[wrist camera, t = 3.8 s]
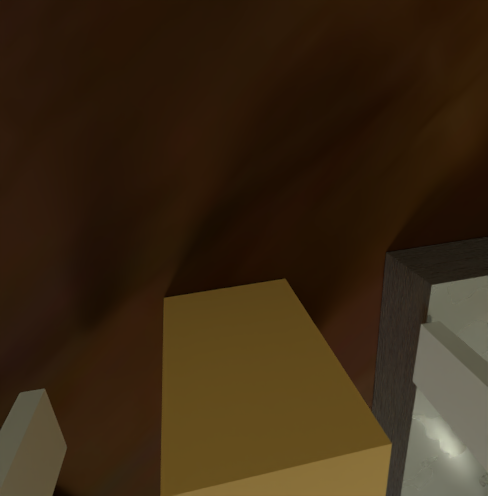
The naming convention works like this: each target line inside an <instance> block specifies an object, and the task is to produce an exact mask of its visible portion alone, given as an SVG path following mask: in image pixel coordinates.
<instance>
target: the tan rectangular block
mask: <svg viewBox="0 0 488 496" xmlns="http://www.w3.org/2000/svg"><path fill="white" fill-rule="evenodd" d="M391 447H392V443H391V441H390V440H389V438H388V437H387V435H386V434H385V432H384V431H383V429H382V427H381V426H380V424H379V423H378V421H377V420H376V418H375V417H374V415H373V414H372V412H371V410H370V409H369V407H368V406H367V404H366V403H365V401H364V400H363V398H362V397H361V395H360V393H359V392H358V390H357V389H356V387H355V386H354V384H353V383H352V381H351V379H350V378H349V376H348V375H347V373H346V372H345V370H344V369H343V367H342V366H341V364H340V362H339V361H338V359H337V358H336V356H335V355H334V353H333V352H332V350H331V349H330V347H329V345H328V344H327V342H326V341H325V339H324V338H323V336H322V335H321V333H320V332H319V330H318V328H317V327H316V325H315V324H314V322H313V321H312V319H311V318H310V316H309V315H308V313H307V311H306V310H305V308H304V307H303V305H302V304H301V302H300V301H299V299H298V297H297V296H296V294H295V293H294V291H293V290H292V288H291V287H290V285H289V284H288V282H287V280H286V279H280V280H273V281H267V282H261V283H254V284H248V285H242V286H235V287H229V288H223V289H216V290H210V291H204V292H197V293H191V294H185V295H179V296H172V297H166V298H164V314H163V375H162V435H161V496H386V488H387V480H388V472H389V464H390V456H391Z"/></svg>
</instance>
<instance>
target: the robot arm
mask: <svg viewBox="0 0 488 496" xmlns="http://www.w3.org/2000/svg"><path fill="white" fill-rule="evenodd" d="M413 382H414V384H415V385H416V386H417V387H418V388H419V390H420V391H421V392H422V393H423V395H424V396H425V397H426V398H427V399H428V401H429V402H430V403H431V404H432V405H433V407H434V408H435V409H436V410H437V412H438V413H439V414H440V415H441V416H442V418H443V419H444V420H445V421H446V422H447V424H448V425H449V426H450V427H451V429H452V430H453V431H454V432H455V433H456V435H457V436H458V437H459V438H460V439H461V441H462V442H463V443H464V444H465V446H466V447H467V448H468V449H469V450H470V452H471V453H472V454H473V455H474V456H475V458H476V459H477V460H478V461H479V463H480V464H481V465H482V466H483V467H484V469H485V470H486V471H487V472H488V362H487V361H486V360H484V359H483V358H482V357H481V356H480V355H479V354H477V353H476V352H475V351H474V350H473V349H472V348H471V347H469V346H468V345H467V344H466V343H465V342H464V341H462V340H461V339H460V338H459V337H458V336H457V335H455V334H454V333H453V332H452V331H451V330H450V329H449V328H447V327H446V326H445V325H444V324H443V323H442V322H440V321H437V322H431V323H425V324H421V327H420V334H419V341H418V347H417V354H416V361H415V368H414V374H413ZM66 449H67V446H66V443H65V440H64V438H63V435H62V433H61V430H60V427H59V425H58V422H57V419H56V417H55V414H54V412H53V409H52V406H51V404H50V401H49V398H48V396H47V393H46V390H45V389H39V390H33V391H27V392H21V393H19V395H18V397H17V399H16V401H15V403H14V405H13V407H12V409H11V411H10V413H9V415H8V417H7V419H6V420H5V422H4V424H3V426H2V428H1V430H0V496H52V495H53V492H54V489H55V485H56V482H57V479H58V475H59V472H60V469H61V466H62V462H63V459H64V456H65V453H66Z"/></svg>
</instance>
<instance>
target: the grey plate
mask: <svg viewBox="0 0 488 496" xmlns="http://www.w3.org/2000/svg"><path fill="white" fill-rule="evenodd" d="M437 321H440V322H442V323H443V324H444V325H445V326H446V327H447V328H449V329H450V330H451V331H452V332H453V333H454V334H455V335H457V336H458V337H459V338H460V339H461V340H462V341H464V342H465V343H466V344H467V345H468V346H469V347H471V348H472V349H473V350H474V351H475V352H476V353H477V354H479V355H480V356H481V357H482V358H483V359H484V360H486V361H487V362H488V237H483V238H476V239H470V240H463V241H457V242H450V243H444V244H437V245H431V246H424V247H418V248H411V249H405V250H398V251H392V252H386V259H385V270H384V282H383V293H382V304H381V316H380V327H379V338H378V350H377V361H376V372H375V384H374V395H373V406H372V414H373V415H374V417H375V418H376V420H377V421H378V423H379V424H380V426H381V427H382V429H383V431H384V432H385V434H386V435H387V437H388V438H389V440H390V441H391V443H392V447H391V456H390V464H389V472H388V480H387V488H386V496H488V472H487V471H486V470H485V469H484V467H483V466H482V465H481V464H480V463H479V461H478V460H477V459H476V458H475V456H474V455H473V454H472V453H471V452H470V450H469V449H468V448H467V447H466V446H465V444H464V443H463V442H462V441H461V439H460V438H459V437H458V436H457V435H456V433H455V432H454V431H453V430H452V429H451V427H450V426H449V425H448V424H447V422H446V421H445V420H444V419H443V418H442V416H441V415H440V414H439V413H438V412H437V410H436V409H435V408H434V407H433V405H432V404H431V403H430V402H429V401H428V399H427V398H426V397H425V396H424V395H423V393H422V392H421V391H420V390H419V388H418V387H417V386H416V385H415V384H414V382H413V374H414V368H415V361H416V354H417V347H418V341H419V334H420V327H421V324H425V323H431V322H437Z"/></svg>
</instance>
